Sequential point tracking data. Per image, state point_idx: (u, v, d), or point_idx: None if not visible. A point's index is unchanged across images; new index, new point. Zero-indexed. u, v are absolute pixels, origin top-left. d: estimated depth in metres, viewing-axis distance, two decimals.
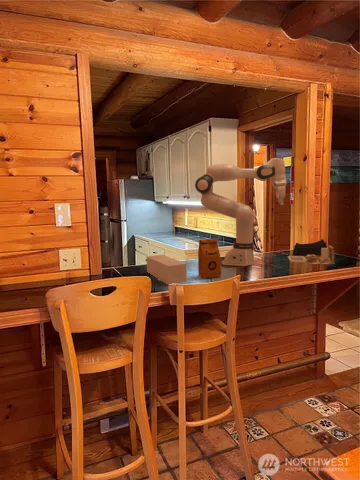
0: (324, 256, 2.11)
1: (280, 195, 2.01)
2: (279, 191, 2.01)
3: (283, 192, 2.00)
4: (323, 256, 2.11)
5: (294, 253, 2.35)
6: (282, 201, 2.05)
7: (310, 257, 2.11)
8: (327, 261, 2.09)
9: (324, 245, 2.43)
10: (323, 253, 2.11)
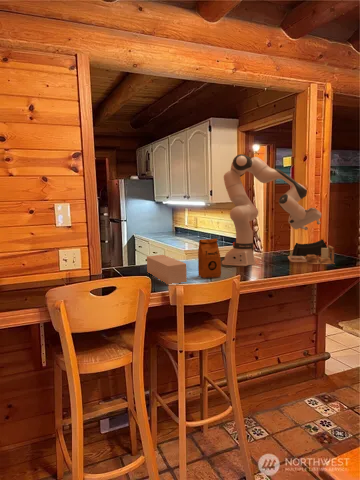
0: (324, 256, 2.11)
1: None
2: None
3: None
4: (323, 256, 2.11)
5: (294, 253, 2.35)
6: None
7: (310, 257, 2.11)
8: (327, 261, 2.09)
9: (324, 245, 2.43)
10: (323, 253, 2.11)
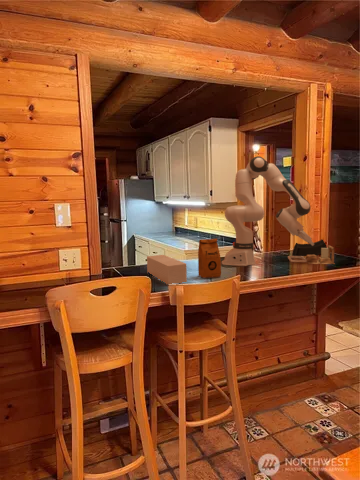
0: (324, 256, 2.11)
1: None
2: None
3: None
4: (323, 256, 2.11)
5: (294, 253, 2.35)
6: None
7: (310, 257, 2.11)
8: (327, 261, 2.09)
9: (324, 245, 2.43)
10: (323, 253, 2.11)
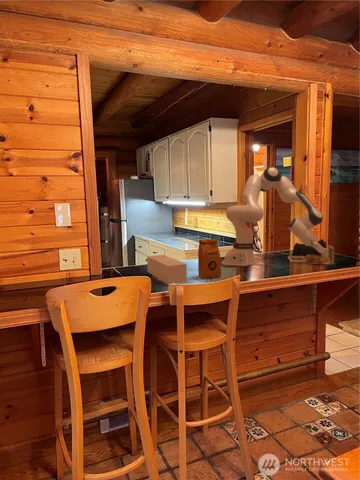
0: (324, 256, 2.11)
1: None
2: None
3: None
4: (323, 256, 2.11)
5: (294, 253, 2.35)
6: None
7: (310, 257, 2.11)
8: (327, 261, 2.09)
9: (324, 245, 2.43)
10: None
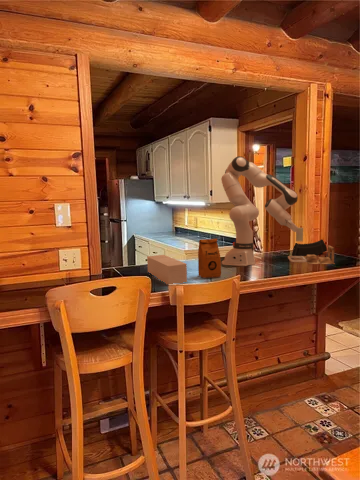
0: (299, 235, 2.17)
1: None
2: None
3: None
4: (298, 235, 2.17)
5: (293, 253, 2.35)
6: None
7: (310, 257, 2.11)
8: (327, 261, 2.09)
9: (323, 245, 2.43)
10: None
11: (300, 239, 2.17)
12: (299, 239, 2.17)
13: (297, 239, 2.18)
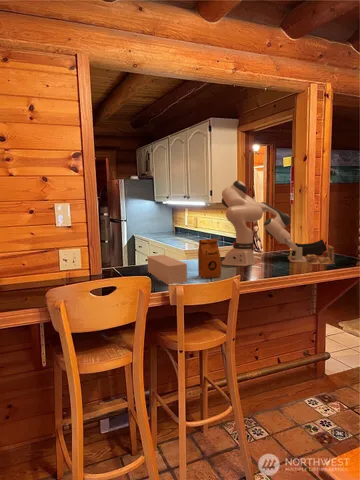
0: (298, 255, 2.19)
1: None
2: None
3: None
4: (297, 255, 2.20)
5: (293, 253, 2.35)
6: None
7: (310, 257, 2.11)
8: (327, 261, 2.09)
9: (323, 245, 2.43)
10: None
11: (299, 259, 2.20)
12: (298, 259, 2.20)
13: (296, 259, 2.20)
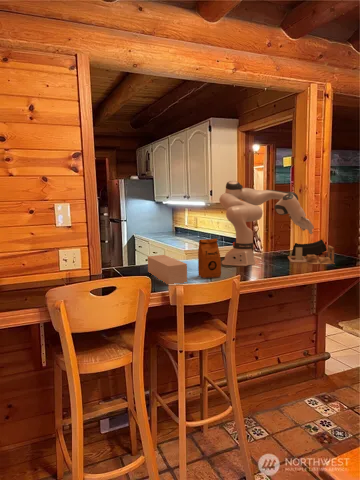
0: (298, 255, 2.19)
1: None
2: None
3: None
4: (297, 255, 2.20)
5: (293, 253, 2.35)
6: None
7: (310, 257, 2.11)
8: (327, 261, 2.09)
9: (323, 245, 2.43)
10: (297, 252, 2.19)
11: (299, 259, 2.20)
12: (298, 259, 2.20)
13: (296, 259, 2.20)
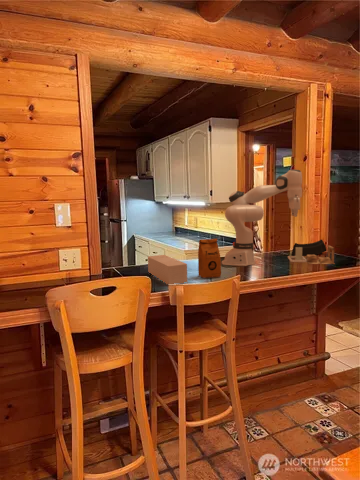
0: (298, 255, 2.19)
1: None
2: None
3: None
4: (297, 255, 2.20)
5: (293, 253, 2.35)
6: None
7: (310, 257, 2.11)
8: (327, 261, 2.09)
9: (323, 245, 2.43)
10: (297, 252, 2.19)
11: (299, 259, 2.20)
12: (298, 259, 2.20)
13: (296, 259, 2.20)
